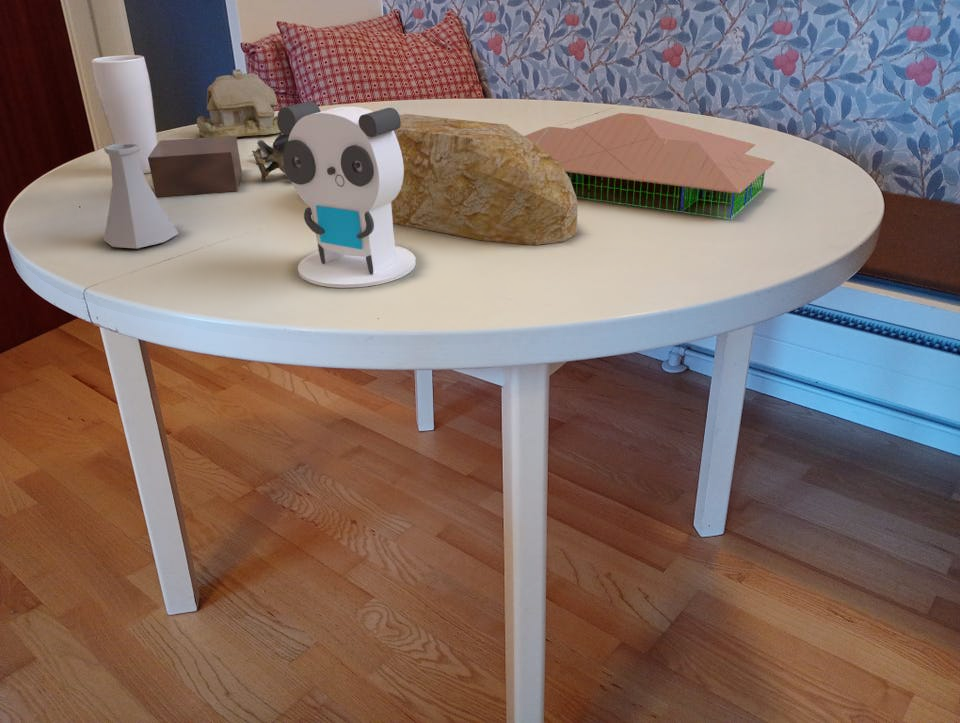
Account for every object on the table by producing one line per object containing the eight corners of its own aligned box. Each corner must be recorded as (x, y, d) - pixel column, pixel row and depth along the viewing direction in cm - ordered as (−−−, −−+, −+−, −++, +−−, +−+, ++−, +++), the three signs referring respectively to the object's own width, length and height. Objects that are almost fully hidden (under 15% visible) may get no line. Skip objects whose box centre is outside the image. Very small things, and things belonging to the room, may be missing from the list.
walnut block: (155, 197, 103) (147, 157, 101) (166, 177, 112) (159, 140, 110) (237, 191, 105) (231, 151, 103) (242, 172, 114) (236, 135, 111)
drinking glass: (148, 162, 120) (125, 53, 113) (177, 168, 116) (155, 56, 109) (106, 172, 115) (79, 60, 108) (134, 179, 112) (109, 63, 105)
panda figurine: (268, 273, 79) (243, 112, 72) (344, 238, 87) (329, 92, 80) (366, 296, 73) (349, 124, 66) (438, 257, 81) (430, 101, 75)
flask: (135, 255, 84) (113, 157, 80) (92, 244, 88) (68, 150, 83) (191, 234, 90) (173, 142, 85) (148, 225, 93) (128, 135, 88)
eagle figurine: (263, 183, 104) (331, 162, 105) (244, 130, 104) (312, 111, 106) (268, 200, 111) (332, 181, 113) (251, 151, 111) (315, 133, 113)
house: (558, 148, 122) (559, 91, 118) (787, 173, 106) (796, 108, 102) (477, 185, 104) (475, 120, 101) (736, 222, 89) (745, 146, 85)
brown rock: (594, 223, 90) (598, 130, 85) (545, 252, 82) (546, 152, 77) (348, 181, 108) (340, 103, 103) (288, 202, 100) (276, 118, 95)
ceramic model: (274, 122, 145) (266, 62, 140) (296, 133, 136) (288, 69, 131) (194, 132, 138) (182, 70, 134) (211, 144, 130) (200, 78, 125)
